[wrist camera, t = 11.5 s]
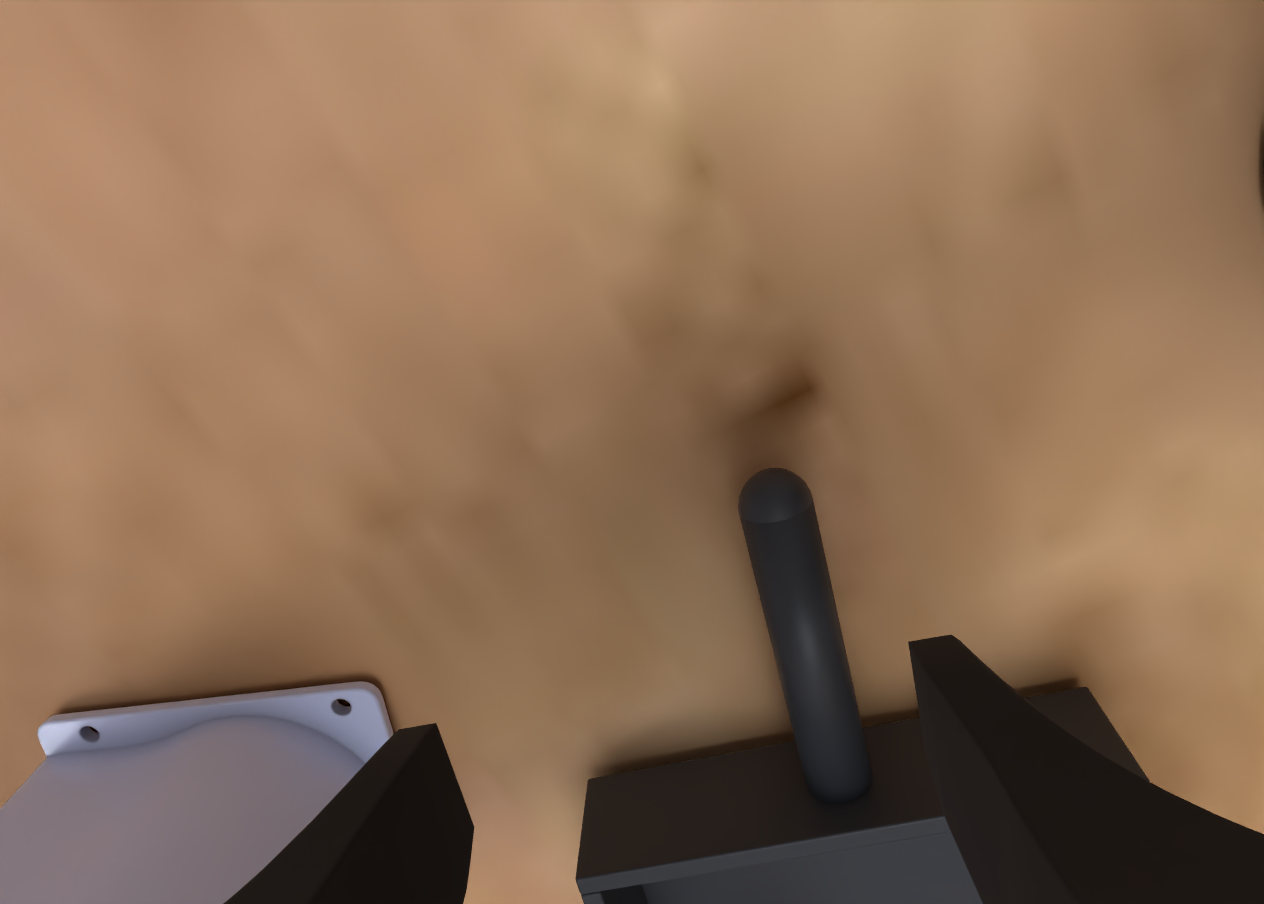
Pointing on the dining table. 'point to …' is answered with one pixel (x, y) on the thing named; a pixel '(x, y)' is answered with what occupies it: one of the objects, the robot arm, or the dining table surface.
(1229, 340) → the dining table surface
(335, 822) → the robot arm
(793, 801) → the scoop pan
